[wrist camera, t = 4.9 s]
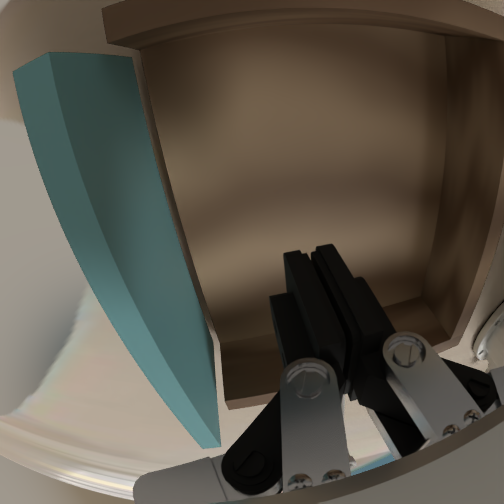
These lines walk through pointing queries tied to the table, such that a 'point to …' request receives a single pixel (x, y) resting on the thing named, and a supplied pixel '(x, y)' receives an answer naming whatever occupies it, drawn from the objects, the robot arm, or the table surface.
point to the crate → (327, 154)
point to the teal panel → (121, 222)
